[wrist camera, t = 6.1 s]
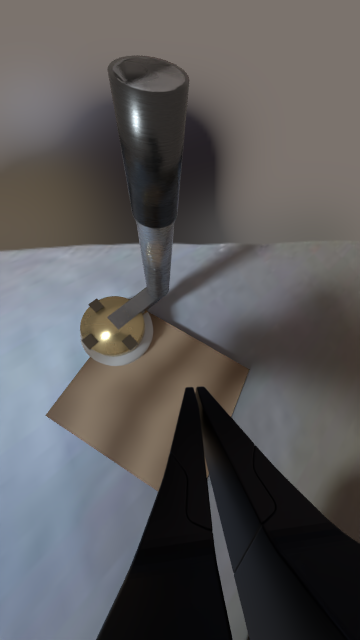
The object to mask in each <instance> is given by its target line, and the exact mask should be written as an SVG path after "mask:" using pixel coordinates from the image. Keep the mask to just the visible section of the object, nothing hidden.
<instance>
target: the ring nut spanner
mask: <svg viewBox="0 0 360 640" xmlns="http://www.w3.org/2000/svg"><path fill="white" fill-rule="evenodd" d="M108 75H109V80H110V86H111V92H112V98H113V103H114V109H115V115H116V121H117V127H118V133H119V139H120V144H121V150H122V156H123V162H124V167H125V173H126V179H127V185H128V191H129V196H130V202H131V208H132V213H133V216H134V218H135V219H136V223H137V229H138V235H139V242H140V248H141V255H142V261H143V267H144V274H145V280H146V286H147V287H146V288H145V289H143V290H142V291H141V292H139V293H138V294H137V295H135V296H134V297H133V298H132V299H130V300H129V299H127V298H124V297H118V296H111V297H106V298H103V299H100V300H98V299H95V300H94V301H93V302H91V303H90V304H88V305H89V306H90V307H89V308H88V309H87V310H86V312H85V313H84V315H83V317H82V320H81V325H80V331H81V336H82V338H83V339H82V340H81V341H82V342H83V343H84V344H85V345H86V347H87V348H88V349H89V350H91V349H92V350H94V351H96V352H98V353H100V354H102V355H105V356H109V357H118V356H122V355H126V354H128V353H130V352H131V351H133V350H134V349H135V348H136V347H137V346H138V345H139V344H140V343H141V341H142V339H143V337H144V334H145V322H144V318H143V315H142V314H143V313H144V312H145V311H146V310H148V309H149V308H150V307H151V306H152V305H154V304H155V303H156V302H157V301H159V300H160V299H161V298H162V297H164V296H165V295H166V294H167V293H168V291H169V282H170V269H171V256H172V243H173V230H174V228H173V227H174V221H175V219H176V217H177V210H178V199H179V188H180V176H181V166H182V154H183V144H184V132H185V122H186V111H187V99H188V87H189V77H188V75H187V73H186V72H185V71H184V70H182V69H181V68H180V67H178V66H177V65H175V64H173V63H171V62H168V61H166V60H162V59H158V58H155V57H149V56H126V57H121V58H119V59H116V60H114V61H112V62H111V63H110V64H109V66H108Z"/></svg>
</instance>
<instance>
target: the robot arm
mask: <svg viewBox="0 0 360 640" xmlns="http://www.w3.org/2000/svg"><path fill="white" fill-rule="evenodd" d="M205 459H206V463H207V467H208V471H209V475H210V479H211V484H212V488H213V492H214V496H215V500H216V504H217V508H218V512H219V516H220V520H221V524H222V528H223V532H224V536H225V540H226V545H227V549H228V553H229V557H230V561H231V565H232V569H233V572H234V577H235V581H236V586H237V590H238V594H239V598H240V602H241V606H242V610H243V614H244V618H245V622H246V626H247V630H248V634H249V638H250V640H360V543H358V542H356V541H355V540H353V539H352V538H350V537H349V536H348V535H346V534H345V533H344V532H342V531H341V530H340V529H338V528H337V527H336V526H335V525H334V524H333V523H331V522H330V521H329V520H328V519H327V518H326V517H325V516H324V515H323V514H322V513H321V512H320V511H319V510H318V509H317V508H316V507H315V506H314V505H313V504H312V503H311V502H310V501H309V500H308V499H307V498H306V497H305V496H303V495H302V494H301V493H300V492H299V491H298V490H297V489H296V488H295V487H294V486H293V485H292V484H291V483H290V482H289V481H288V480H287V479H286V478H285V477H284V476H283V475H282V474H281V473H280V472H279V471H278V470H277V469H276V468H275V467H274V465H273V464H272V463H271V462H270V461H269V460H268V459H267V458H266V457H265V456H264V454H263V453H262V452H261V451H260V450H259V449H258V448H257V446H254V443H253V442H252V441H251V440H250V438H249V437H248V436H247V435H246V434H245V433H244V432H243V430H242V429H241V428H240V427H239V426H238V425H237V424H236V422H235V421H234V420H233V419H232V418H231V417H230V415H229V414H228V413H227V412H226V411H225V410H224V409H223V407H222V406H221V405H220V404H219V403H218V402H217V401H216V399H215V398H214V397H213V396H212V395H211V394H210V392H209V391H208V390H207V389H206V388H205V387H204V386H200V387H196V392H195V391H194V388H193V387H186V388H185V391H184V395H183V399H182V404H181V408H180V412H179V416H178V420H177V424H176V428H175V432H174V437H173V441H172V445H171V449H170V454H169V457H168V461H167V465H166V468H165V472H164V476H163V479H162V482H161V485H160V488H159V491H158V494H157V497H156V500H155V502H154V505H153V508H152V511H151V513H150V516H149V519H148V522H147V524H146V527H145V530H144V532H143V535H142V538H141V541H140V543H139V546H138V549H137V551H136V554H135V556H134V559H133V561H132V564H131V566H130V569H129V571H128V573H127V575H126V578H125V580H124V582H123V584H122V586H121V588H120V590H119V593H118V595H117V597H116V599H115V601H114V603H113V605H112V607H111V609H110V611H109V614H108V616H107V618H106V620H105V622H104V624H103V626H102V628H101V630H100V632H99V635H98V637H97V639H96V640H232V635H231V630H230V625H229V620H228V615H227V610H226V605H225V601H224V596H223V591H222V586H221V581H220V576H219V571H218V566H217V561H216V554H215V547H214V539H213V533H212V521H211V511H210V502H209V493H208V483H207V474H206V465H205Z"/></svg>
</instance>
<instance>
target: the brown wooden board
mask: <svg viewBox="0 0 360 640" xmlns="http://www.w3.org/2000/svg"><path fill="white" fill-rule="evenodd" d="M129 300H130V299H129ZM142 315H143V318H144V322H145V334H144V337H143V339H142V341H141V343H140V344H139V345H138V346H137V347H136V348H135V349H134V350H133V351H131V352H130V353H128V354H126V355H122V356H118V357H109V356H105V355H102V354H100V353H98V352H96V351H94V350H92V349H91V350H89V349H88V348H87V347H86V345H85V344H84V343H83V342H82V341H81V342H82V345H83V348H84V350H85V351H86V353H87V354H88V355H89V356H90V358H89V359H88V360H87V362H86V363H85V364H84V366H83V367H82V368H81V370H80V371H79V372H78V373H77V375H76V376H75V377H74V379H73V380H72V381H71V383H70V384H69V385H68V387H67V388H66V389H65V391H64V392H63V393H62V394H61V396H60V397H59V398H58V400H57V401H56V402H55V404H54V405H53V406H52V408H51V409H50V410H49V412H48V413H47V414H46V415H45V416H47V417H48V418H50V419H51V420H53V421H54V422H56V423H57V424H59V425H60V426H62V427H63V428H65V429H66V430H68V431H69V432H71V433H72V434H74V435H75V436H77V437H78V438H80V439H81V440H83V441H84V442H86V443H87V444H89V445H90V446H91V447H93V448H94V449H96V450H97V451H99V452H100V453H102V454H103V455H105V456H106V457H108V458H109V459H111V460H112V461H114V462H115V463H117V464H118V465H120V466H121V467H123V468H124V469H126V470H127V471H129V472H130V473H132V474H133V475H135V476H136V477H137V478H139V479H140V480H142V481H143V482H145V483H146V484H148V485H149V486H151V487H152V488H154V489H155V490H157V491H159V488H160V485H161V482H162V479H163V476H164V472H165V468H166V465H167V461H168V457H169V454H170V449H171V445H172V441H173V437H174V432H175V428H176V424H177V420H178V416H179V412H180V408H181V404H182V399H183V395H184V391H185V388H186V387H193V388H194V391H195V392H196V387H200V386H204V387H205V388H206V389H207V390H208V391H209V392H210V394H211V395H212V396H213V397H214V398H215V399H216V401H217V402H218V403H219V404H220V405H221V406H222V407H223V409H224V410H225V411H226V412H227V413H228V414H229V415H230V417H231V415H232V413H233V410H234V408H235V405H236V403H237V400H238V397H239V395H240V392H241V390H242V387H243V385H244V382H245V379H246V377H247V374H248V372H249V369H248V368H246V367H244V366H242V365H241V364H239V363H237V362H235V361H234V360H232V359H230V358H228V357H227V356H225V355H223V354H221V353H220V352H218V351H216V350H214V349H213V348H211V347H209V346H207V345H206V344H204V343H202V342H200V341H199V340H197V339H195V338H193V337H192V336H190V335H188V334H186V333H185V332H183V331H181V330H179V329H178V328H176V327H174V326H172V325H171V324H169V323H167V322H165V321H164V320H162V319H160V318H158V317H157V316H155V315H153V314H151V313H149V312H148V311H147V310H146V311H145V312H144V313H143V314H142ZM82 339H83V338H82V336H81V340H82ZM205 465H206V474H207V477H208V475H209V471H208V467H207V463H206V459H205Z"/></svg>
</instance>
